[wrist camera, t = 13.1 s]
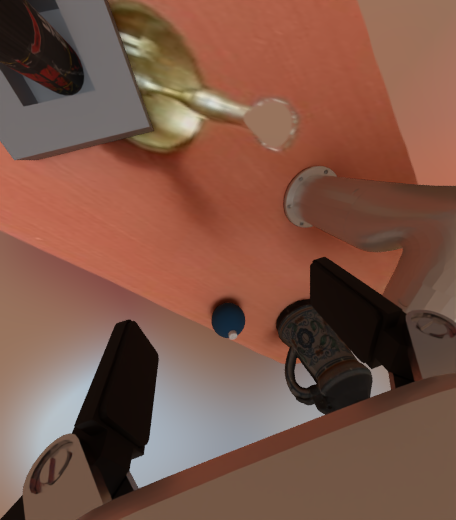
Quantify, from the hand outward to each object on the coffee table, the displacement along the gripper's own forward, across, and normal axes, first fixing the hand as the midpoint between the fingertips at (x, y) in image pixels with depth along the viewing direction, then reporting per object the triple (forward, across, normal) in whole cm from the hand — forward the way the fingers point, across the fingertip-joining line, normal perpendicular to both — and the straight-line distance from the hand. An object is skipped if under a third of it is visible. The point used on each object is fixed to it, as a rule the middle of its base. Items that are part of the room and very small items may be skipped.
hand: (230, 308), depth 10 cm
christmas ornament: (+31, +1, +29) cm, 42 cm away
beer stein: (+31, -19, +44) cm, 57 cm away
